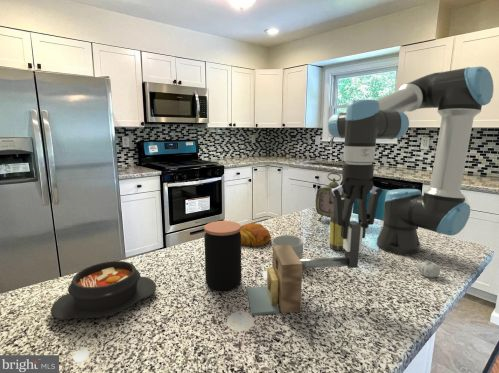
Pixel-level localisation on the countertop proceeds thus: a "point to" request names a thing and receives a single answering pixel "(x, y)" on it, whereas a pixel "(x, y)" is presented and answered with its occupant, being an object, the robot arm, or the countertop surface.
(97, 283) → the casserole
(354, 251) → the shaft
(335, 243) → the sauce bottle
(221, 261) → the coffee jar
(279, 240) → the teacup
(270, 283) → the plate
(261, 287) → the slate mat
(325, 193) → the tabletop clock
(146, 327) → the countertop surface
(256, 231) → the croissant
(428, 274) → the garlic
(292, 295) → the bearing block
